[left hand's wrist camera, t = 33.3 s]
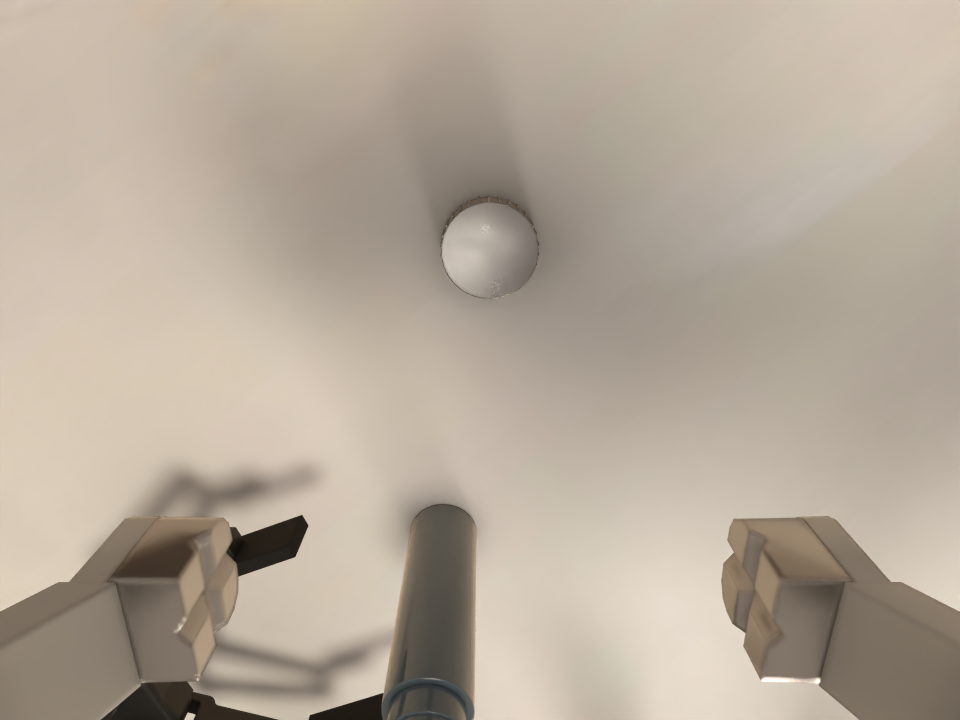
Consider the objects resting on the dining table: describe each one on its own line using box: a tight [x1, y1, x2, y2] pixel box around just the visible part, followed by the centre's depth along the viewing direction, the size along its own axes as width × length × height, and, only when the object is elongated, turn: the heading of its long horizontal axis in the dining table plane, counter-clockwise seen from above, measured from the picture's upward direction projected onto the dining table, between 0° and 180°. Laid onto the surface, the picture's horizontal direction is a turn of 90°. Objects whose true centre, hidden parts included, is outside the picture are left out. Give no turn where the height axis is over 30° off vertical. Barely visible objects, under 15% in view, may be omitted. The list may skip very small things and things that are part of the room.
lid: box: [440, 196, 539, 299], centre depth 34 cm, size 5×5×2 cm
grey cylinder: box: [381, 505, 476, 720], centre depth 35 cm, size 4×4×15 cm
